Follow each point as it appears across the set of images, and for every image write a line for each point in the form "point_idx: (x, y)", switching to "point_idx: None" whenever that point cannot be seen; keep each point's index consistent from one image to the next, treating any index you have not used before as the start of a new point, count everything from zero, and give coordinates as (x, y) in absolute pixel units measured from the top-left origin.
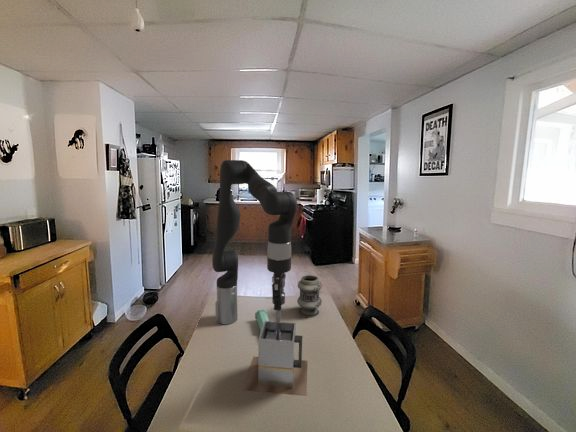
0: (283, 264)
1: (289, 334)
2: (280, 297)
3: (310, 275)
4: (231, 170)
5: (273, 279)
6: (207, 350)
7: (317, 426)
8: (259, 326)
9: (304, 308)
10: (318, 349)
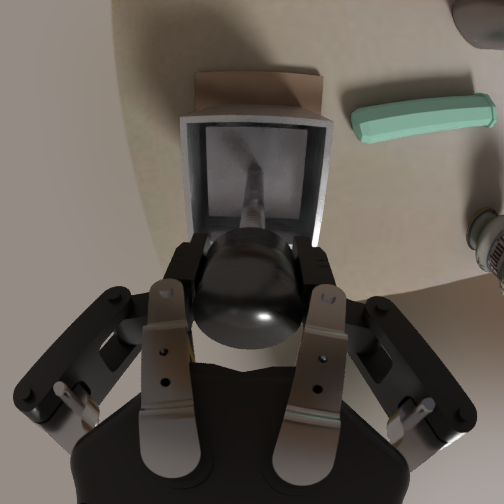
0: None
1: (291, 212)
2: (110, 348)
3: None
4: None
5: (147, 445)
6: None
7: (150, 226)
8: (443, 97)
9: (484, 227)
10: (357, 238)
